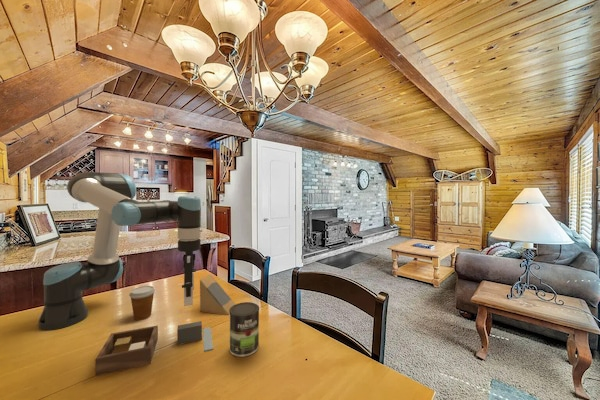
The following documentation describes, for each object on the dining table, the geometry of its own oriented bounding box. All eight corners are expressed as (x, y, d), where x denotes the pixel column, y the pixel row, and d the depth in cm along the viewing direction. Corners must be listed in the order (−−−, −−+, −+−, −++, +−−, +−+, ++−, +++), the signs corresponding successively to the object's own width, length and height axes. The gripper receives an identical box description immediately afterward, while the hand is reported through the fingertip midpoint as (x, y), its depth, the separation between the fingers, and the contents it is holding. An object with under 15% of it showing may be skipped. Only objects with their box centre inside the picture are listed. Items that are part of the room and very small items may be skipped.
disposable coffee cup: (124, 319, 105) (124, 291, 105) (145, 309, 114) (145, 284, 114) (139, 324, 102) (139, 295, 102) (160, 313, 111) (160, 287, 110)
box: (111, 350, 85) (111, 333, 85) (157, 341, 90) (157, 325, 90) (95, 379, 72) (95, 359, 72) (150, 366, 77) (150, 348, 77)
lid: (168, 337, 94) (168, 319, 93) (210, 329, 100) (210, 312, 99) (164, 362, 80) (164, 341, 80) (213, 351, 86) (213, 331, 86)
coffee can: (263, 351, 85) (263, 311, 85) (232, 360, 80) (232, 318, 80) (254, 335, 94) (254, 299, 94) (226, 343, 89) (226, 305, 89)
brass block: (118, 350, 84) (117, 338, 83) (131, 347, 85) (131, 336, 85) (114, 357, 80) (113, 345, 80) (128, 354, 81) (128, 342, 81)
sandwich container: (229, 315, 110) (229, 282, 109) (199, 311, 113) (199, 279, 113) (238, 307, 118) (238, 276, 117) (210, 303, 121) (210, 273, 121)
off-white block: (131, 355, 81) (131, 343, 81) (145, 352, 82) (145, 341, 82) (128, 363, 77) (128, 351, 77) (143, 360, 79) (143, 348, 78)
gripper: (200, 245, 78) (200, 311, 79) (200, 232, 101) (200, 283, 102) (174, 247, 76) (174, 315, 76) (180, 233, 99) (180, 285, 99)
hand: (189, 297), depth 89 cm, fingers open, 13 cm apart
